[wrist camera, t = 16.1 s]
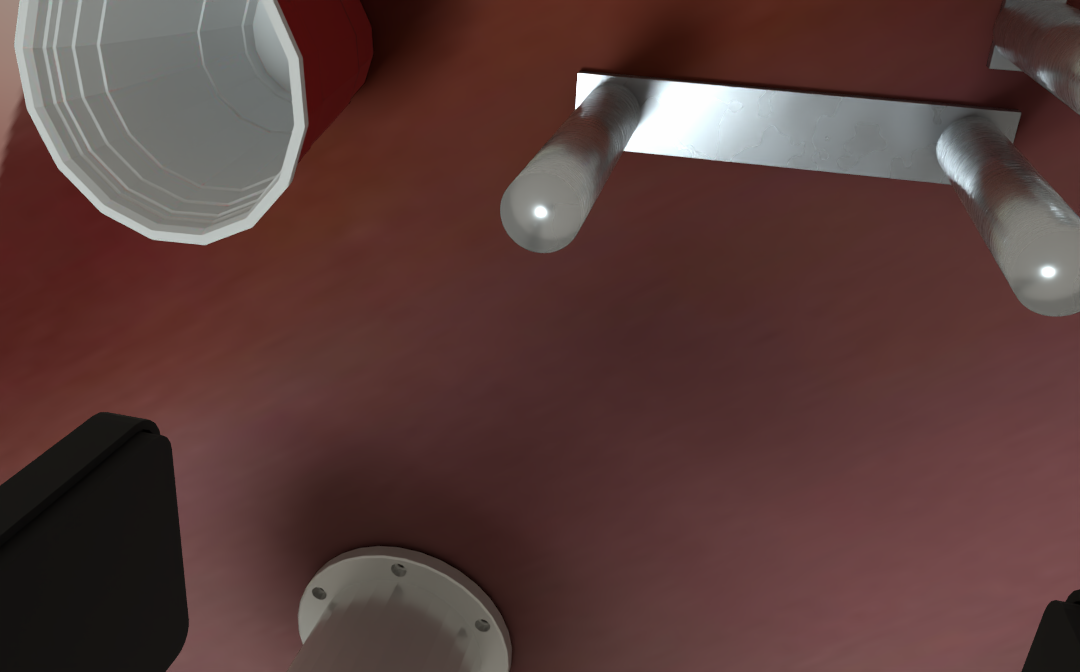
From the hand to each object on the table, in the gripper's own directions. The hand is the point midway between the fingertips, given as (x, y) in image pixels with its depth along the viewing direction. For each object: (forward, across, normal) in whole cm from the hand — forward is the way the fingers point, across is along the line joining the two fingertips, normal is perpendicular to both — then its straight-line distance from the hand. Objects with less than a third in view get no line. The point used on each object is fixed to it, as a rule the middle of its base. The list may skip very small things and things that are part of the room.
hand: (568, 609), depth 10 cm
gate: (+32, -3, +1) cm, 32 cm away
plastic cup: (+32, +17, -1) cm, 36 cm away
